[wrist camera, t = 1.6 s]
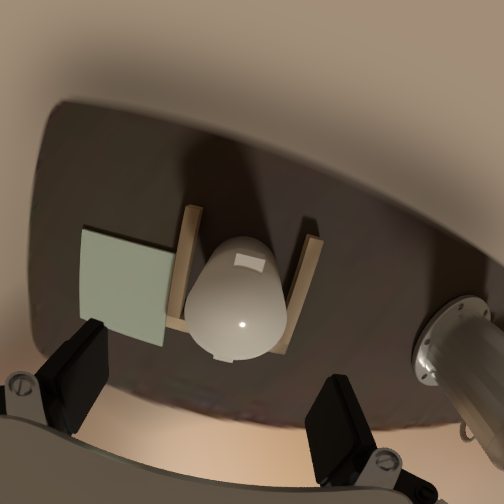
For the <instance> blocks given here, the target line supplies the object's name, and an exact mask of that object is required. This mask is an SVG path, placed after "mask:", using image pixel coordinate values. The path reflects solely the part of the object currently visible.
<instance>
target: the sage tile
mask: <svg viewBox="0 0 504 504" xmlns="http://www.w3.org/2000/svg"><path fill="white" fill-rule="evenodd" d="M175 259H176V253H173V252H169V251H166V250H162V249H158V248H154V247H150V246H147V245H143V244H139V243H135V242H132V241H128V240H124V239H121V238H117V237H113V236H110V235H106V234H102V233H99V232H95V231H92V230H88V229H85V228H84V229H82V239H81V255H80V318H82V319H85V320H87V321H88V320H89V319H90V318H94V319H96V320H99V321H102V322H104V326H106V327H107V328H108V329H111V330H113V331H116V332H119V333H122V334H125V335H128V336H131V337H134V338H136V339H140V340H143V341H146V342H149V343H152V344H155V345H158V346H163V343H164V335H165V327H166V326H165V324H166V317H167V310H168V303H169V296H170V289H171V283H172V277H173V271H174V265H175Z"/></svg>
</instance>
